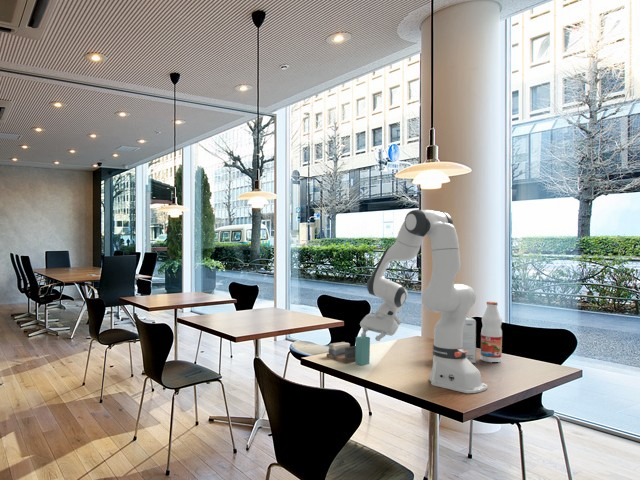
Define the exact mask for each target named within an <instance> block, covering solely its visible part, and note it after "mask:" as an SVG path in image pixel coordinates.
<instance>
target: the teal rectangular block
mask: <svg viewBox="0 0 640 480" xmlns="http://www.w3.org/2000/svg"><path fill="white" fill-rule="evenodd" d="M355 346H356V356H355V362H354V364H356V365H359V366H361V365H362V366H366V365H370V353H371V351H370V350H371V349H370V348H371V337H369V336H367V335H366V336H361V335H360V336H355Z"/></svg>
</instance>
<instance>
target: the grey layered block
mask: <svg viewBox="0 0 640 480" xmlns="http://www.w3.org/2000/svg"><path fill="white" fill-rule="evenodd" d="M355 356H356V345H353V346H351V343H349V342H345V341H341V342H333V343H329V344H328V353H326V358H328V359H332V360H334V361H337V362H341V363H343V364H350V363H355Z"/></svg>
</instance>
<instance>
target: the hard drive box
mask: <svg viewBox="0 0 640 480" xmlns="http://www.w3.org/2000/svg"><path fill="white" fill-rule="evenodd" d="M476 342H477V321H476V319H474V318H473V317H466V320H465V323H464V328H463V348H464V350H465V351H468V352H467V353H468V354H466V358H467V359H468V360H469V361H470V362H471V363H472V364H476V363H477V360H476V359H477V354H476V353H477V351H476V350H477V343H476Z"/></svg>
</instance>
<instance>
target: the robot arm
mask: <svg viewBox="0 0 640 480" xmlns="http://www.w3.org/2000/svg"><path fill="white" fill-rule="evenodd" d="M453 223H454V222H453V218H452V216H451V215H450V214H449V213H447V212H444V211H441V210H440V211H438V210H432V209H413V210H410V211H409V212H407V214H406V216H405V218H404V221H403V222H402V224H401V226H400V228H399V231H398V233H397V237H396V240H395V242H394V243H393V244H392V245H389V246H387V247H386V248H385V250H384V252H383V253H382V255H381V256H380V259H379V261H378V262H377V265H376V267H375V269H374V270H373V273H372V274H371V276H370V278H369V279H368V280H367V283H366V289H367V292H368V294H369V295H371V296H374V297H377V298H379V299H382V300H383V302H382V303H381V304H380V305H379V307H378V308H377V310H376V311H375V313H374V312H370V313H368V314H366V315H365V316H364V317H363V318H362V319H361V321H360V323H359V325H360V327H361V329H362V333H361V334H360V337H361V336H366V337H367V332H373V333H374V332H375V333H377V334H378V335H376V336H375V341H377V342H380V341H381V339H383V338H384V337H386V336H392V337H393V335H395V334H396V332H397V330H398V329H399V326H400V325H401V324H402V320H401V319H400V317H399V316H398V312H399V311H400V310H401V309H402V308H403V306H404V304H405V302H406V300H407V299H408V295H409V294H408V293H409V292H408V290H407V288H405V287H404V286H403V285H401V284H399V283H397V282H395V281H392V280H390V279H388V278H386V277H385V275H384V274H385V272H386V270H387V269H388V267H389V266H390V265H389V264H390V263H391V262H397V261H398V262H407V261H411V260H413V259H414V258H416V256H418V254H419V252H420V249H421V246H422V243H423V239H424V237H428V238H429V239H430V244H431V267H432V269H431V276H430V280H429V283H428V285H427V286H426V288H425V289H424V290H423V292H422V294H421V302H422V303H421V304H422V305H423V307H424V308H425V309H426V310H427V311H428V312H433V313H438V314H439V313H441V316H440V318H439V319H438V321H437V322H436V323H435V325H434V328H433V329H434V331H433V336H434V337H433V345H432V356H433V359H432V368H431V371H430V375H429V378H428V380H429V381H430V384H431V385H432V386H435V387H438V388H443V389H447V390H452V391H456V392H460V393H464V394H476V393H482V392H484V391H486V390H487V389H488V384H486V383H484V382H482V376H481V374H482V373H481V372H480V370H479V369H478V368H477V367H476V366H475V365H474V363H471V362H470V361H469V360H468V359H467V358H466V354H468V353H467V352H468V351H465V350H464V348H463V328H464V323H465V320H466V318H468V317H467V316H468V314H469V311H470V310H471V308H473V306H474V304H475V303H476V299H477V295H476V292H475V290H474V288H473V287H472V286H470V285H467V284H464V283H455V279H456V276H457V274H458V273H459V272H460V270H461V267H462V264H461V252H460V243H459V236H458V233H457V230H456V227H455V226H454V224H453Z"/></svg>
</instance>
